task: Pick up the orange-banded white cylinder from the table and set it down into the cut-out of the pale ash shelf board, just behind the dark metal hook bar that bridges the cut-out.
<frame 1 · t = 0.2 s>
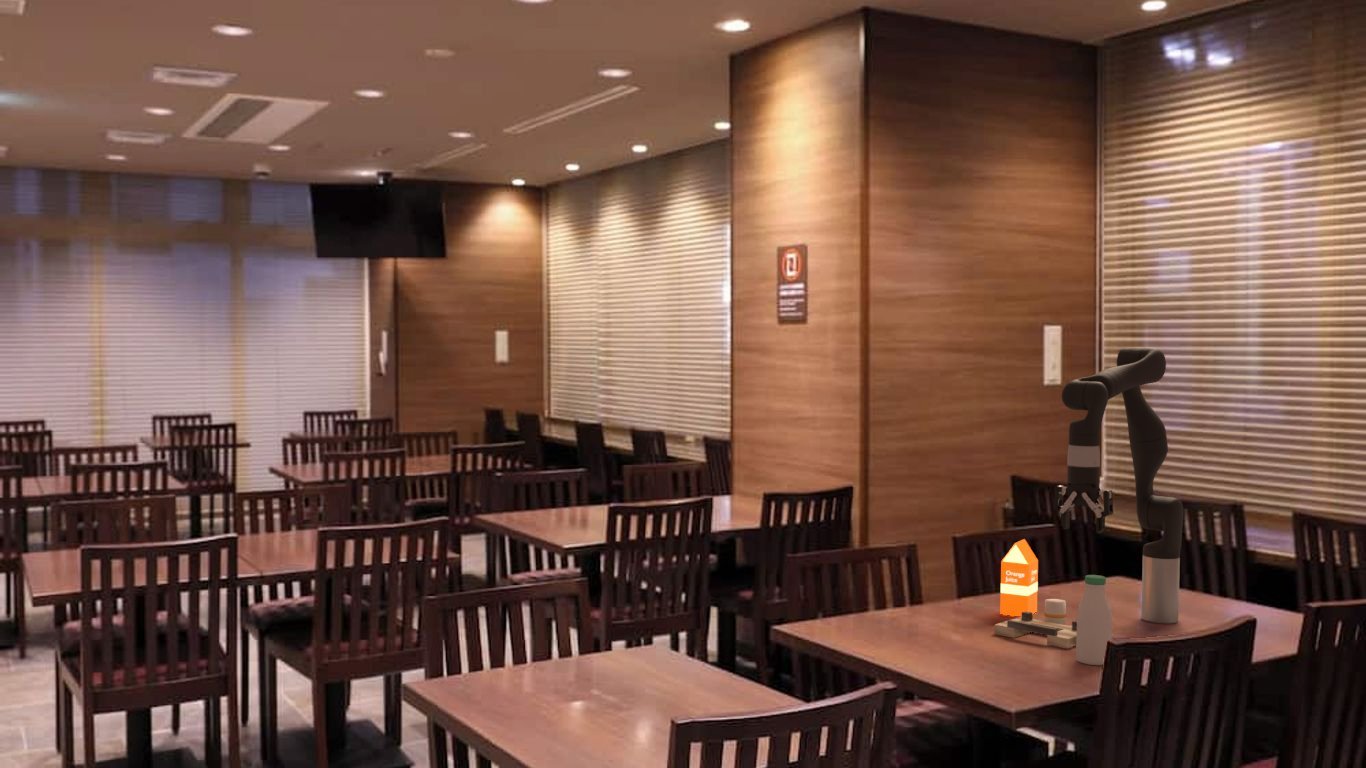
hand: (1082, 530, 293), 29 cm above the table, tool pointing down, fingers open, 8 cm apart
shelf board: (1043, 636, 305), on the table
milk bottle: (1093, 662, 281), on the table
orange-banded white cylinder: (1054, 627, 315), on the table
orange juice: (1018, 614, 331), on the table
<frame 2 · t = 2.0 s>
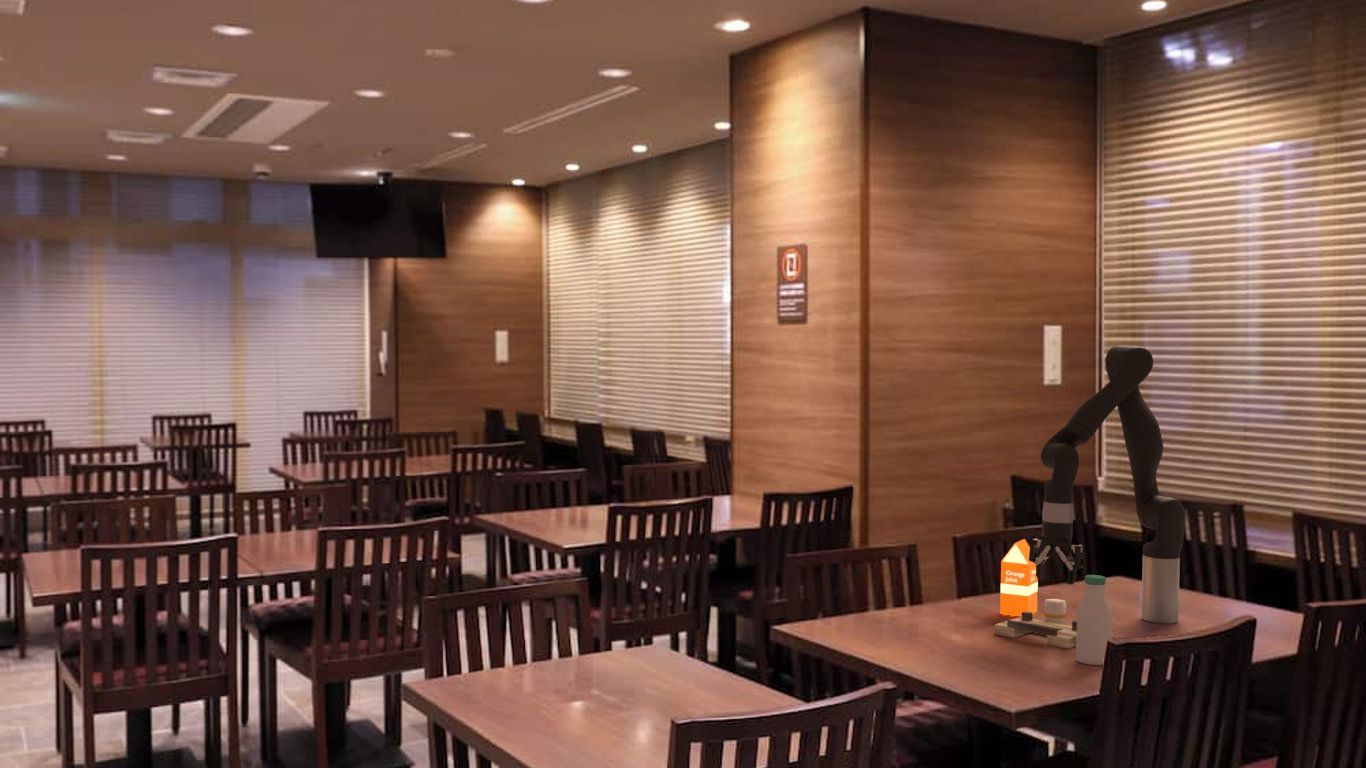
hand: (1055, 581, 314), 12 cm above the table, tool pointing down, fingers open, 8 cm apart
nothing on the table moved.
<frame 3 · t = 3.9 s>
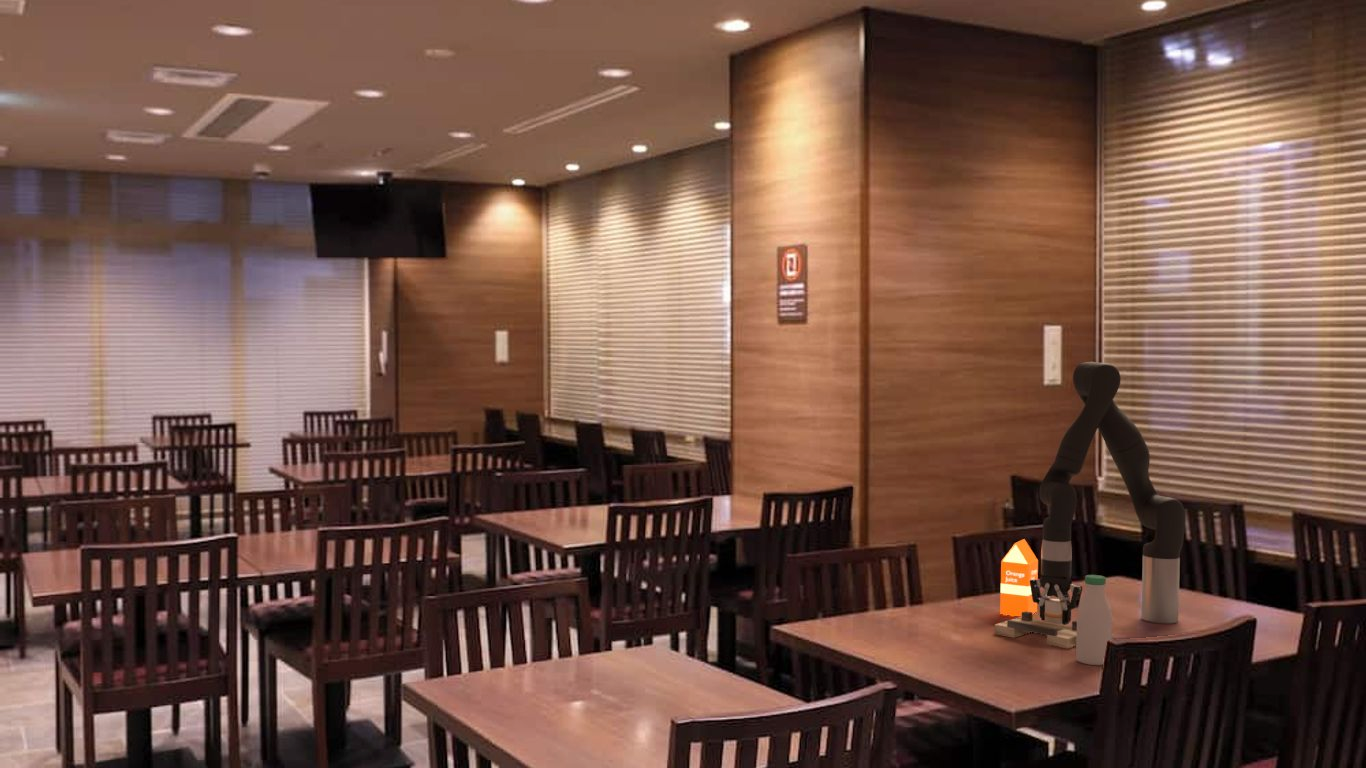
hand: (1054, 621, 315), 1 cm above the table, tool pointing down, fingers closed on orange-banded white cylinder, 5 cm apart
orange-banded white cylinder: (1054, 627, 315), on the table, touching gripper
everything else where it was.
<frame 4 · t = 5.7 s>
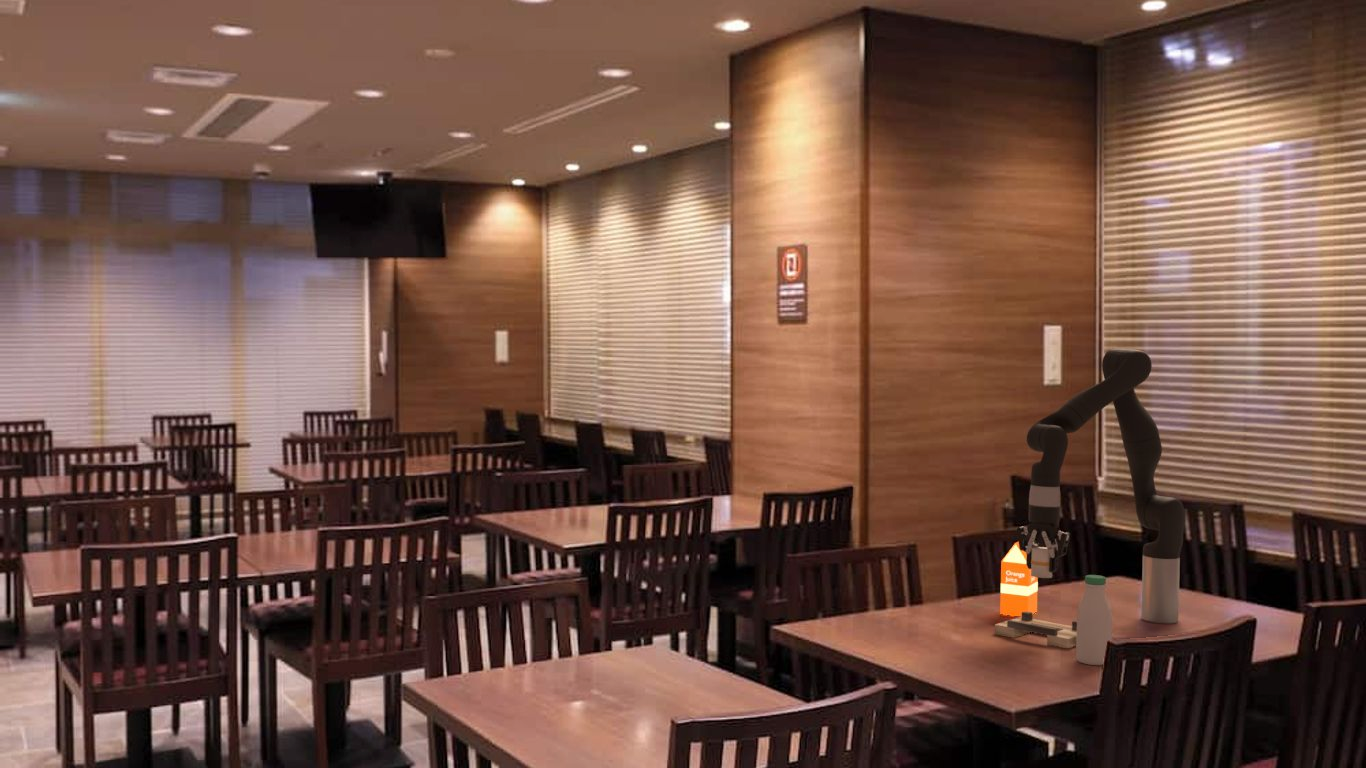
hand: (1041, 570, 306), 17 cm above the table, tool pointing down, fingers closed on orange-banded white cylinder, 5 cm apart
orange-banded white cylinder: (1041, 576, 306), point 15 cm above the table, touching gripper
everything else where it was.
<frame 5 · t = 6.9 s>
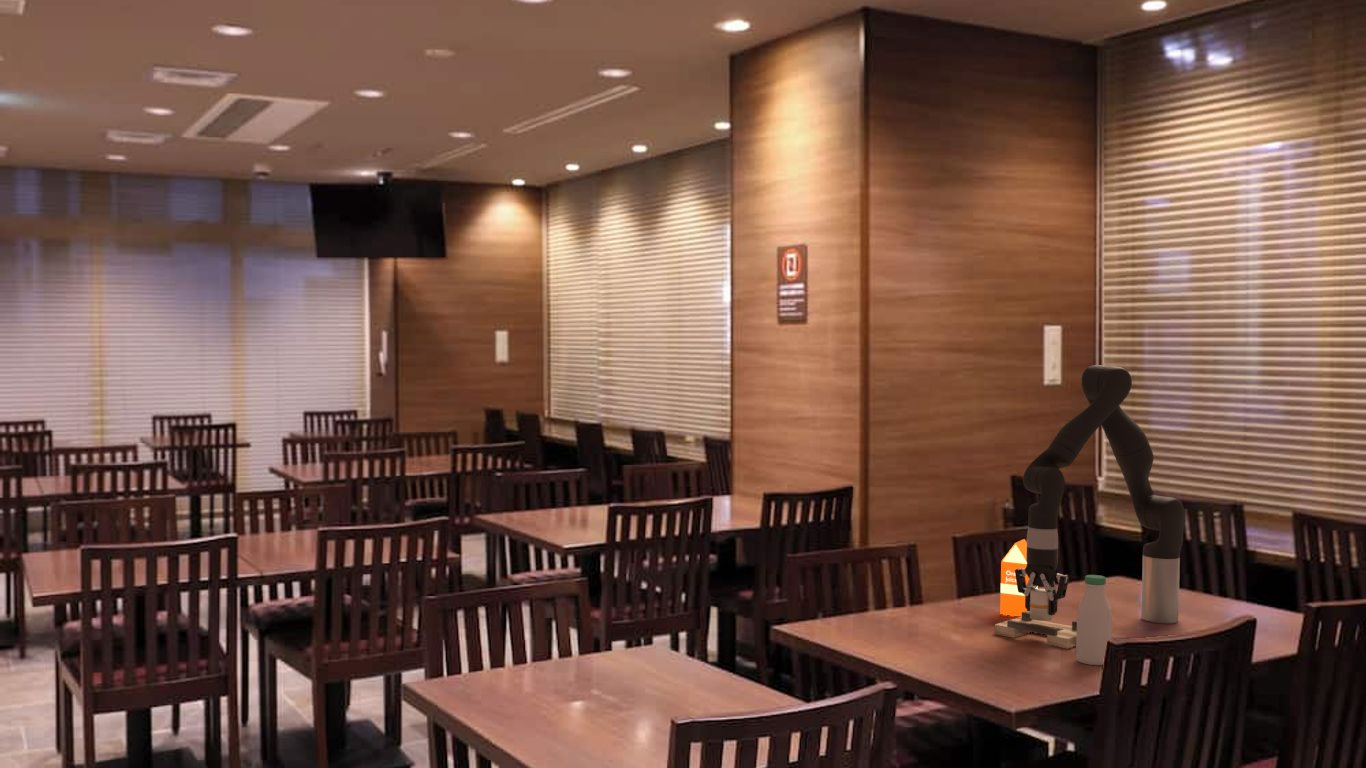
hand: (1040, 612, 303), 6 cm above the table, tool pointing down, fingers closed on orange-banded white cylinder, 5 cm apart
orange-banded white cylinder: (1040, 618, 303), point 5 cm above the table, touching gripper
everything else where it was.
when the fingers open (4 cm above the table, at t = 7.8 s): orange-banded white cylinder drops 2 cm, on the table.
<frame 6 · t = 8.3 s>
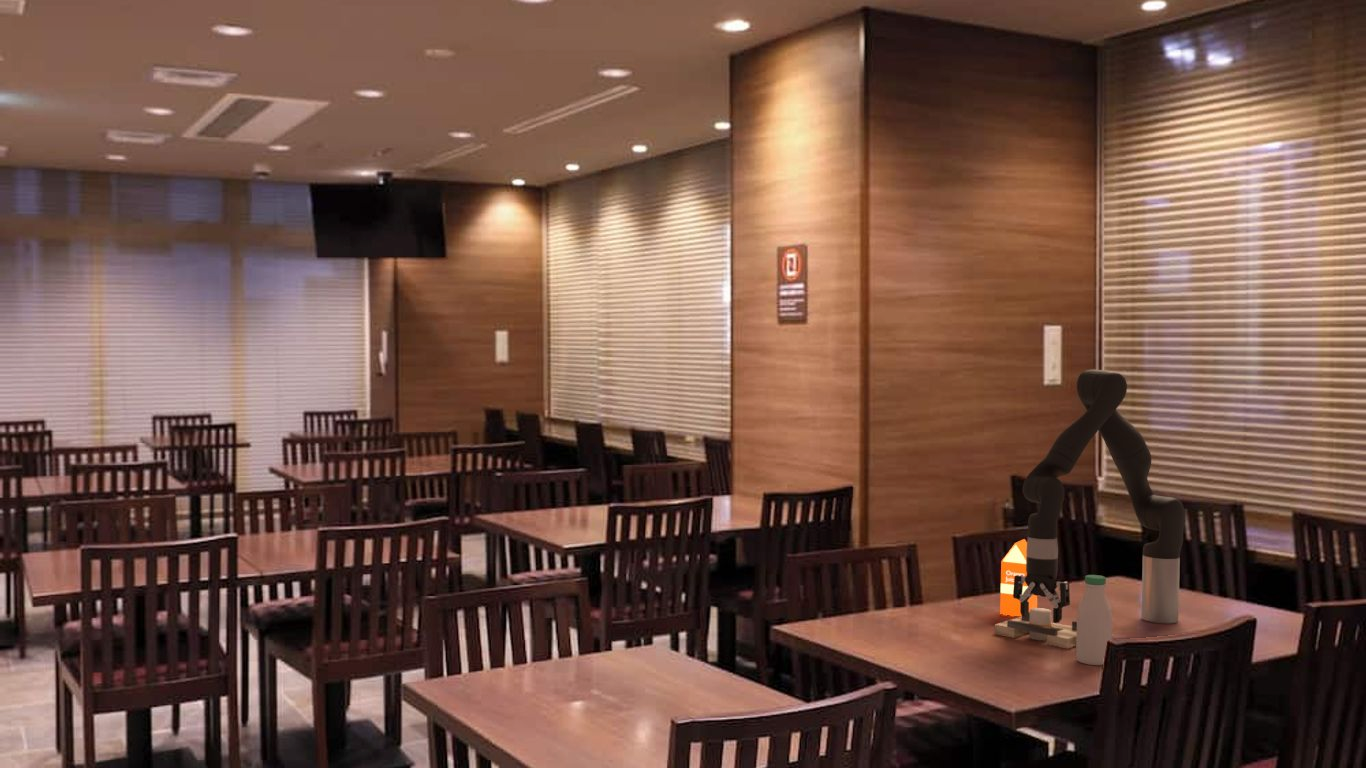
hand: (1040, 619, 304), 5 cm above the table, tool pointing down, fingers open, 8 cm apart
orange-banded white cylinder: (1040, 638, 304), on the table
everything else where it was.
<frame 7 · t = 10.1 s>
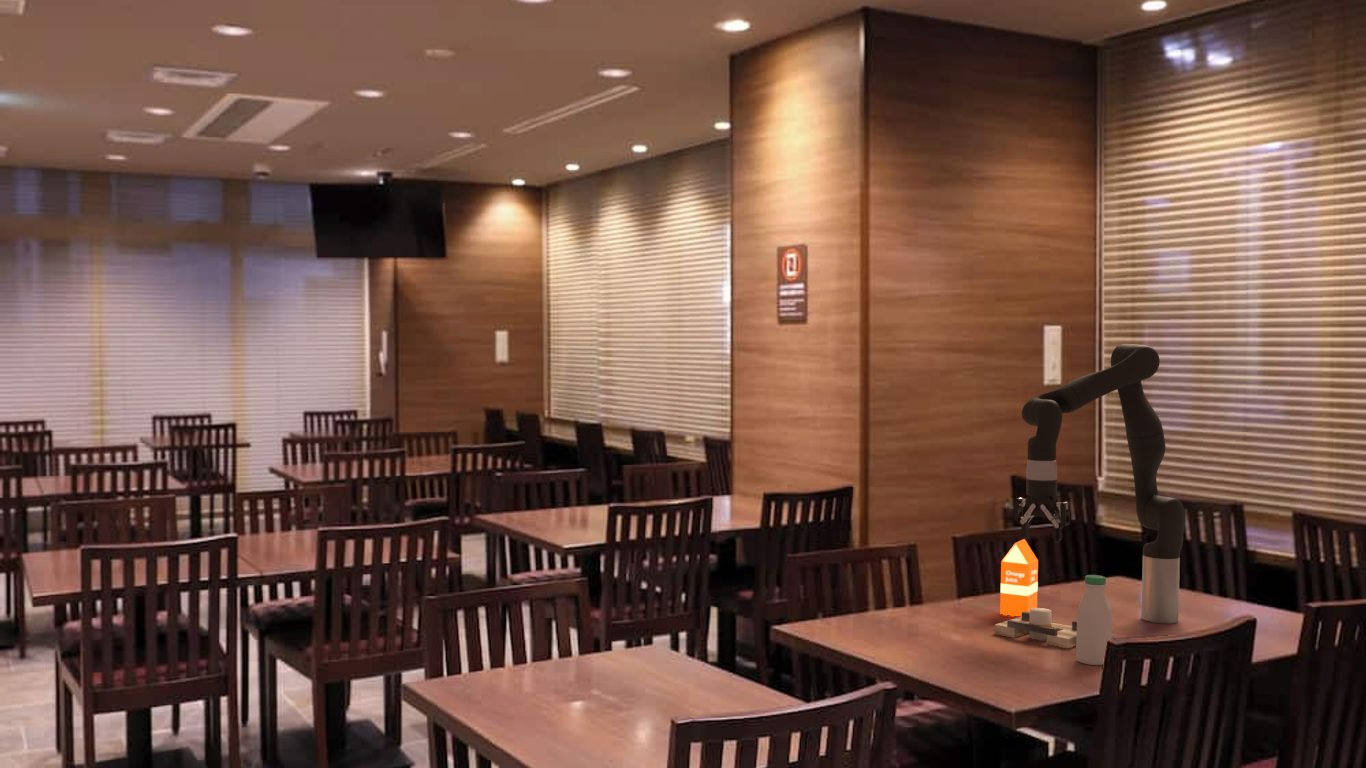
hand: (1041, 540, 310), 23 cm above the table, tool pointing down, fingers open, 8 cm apart
nothing on the table moved.
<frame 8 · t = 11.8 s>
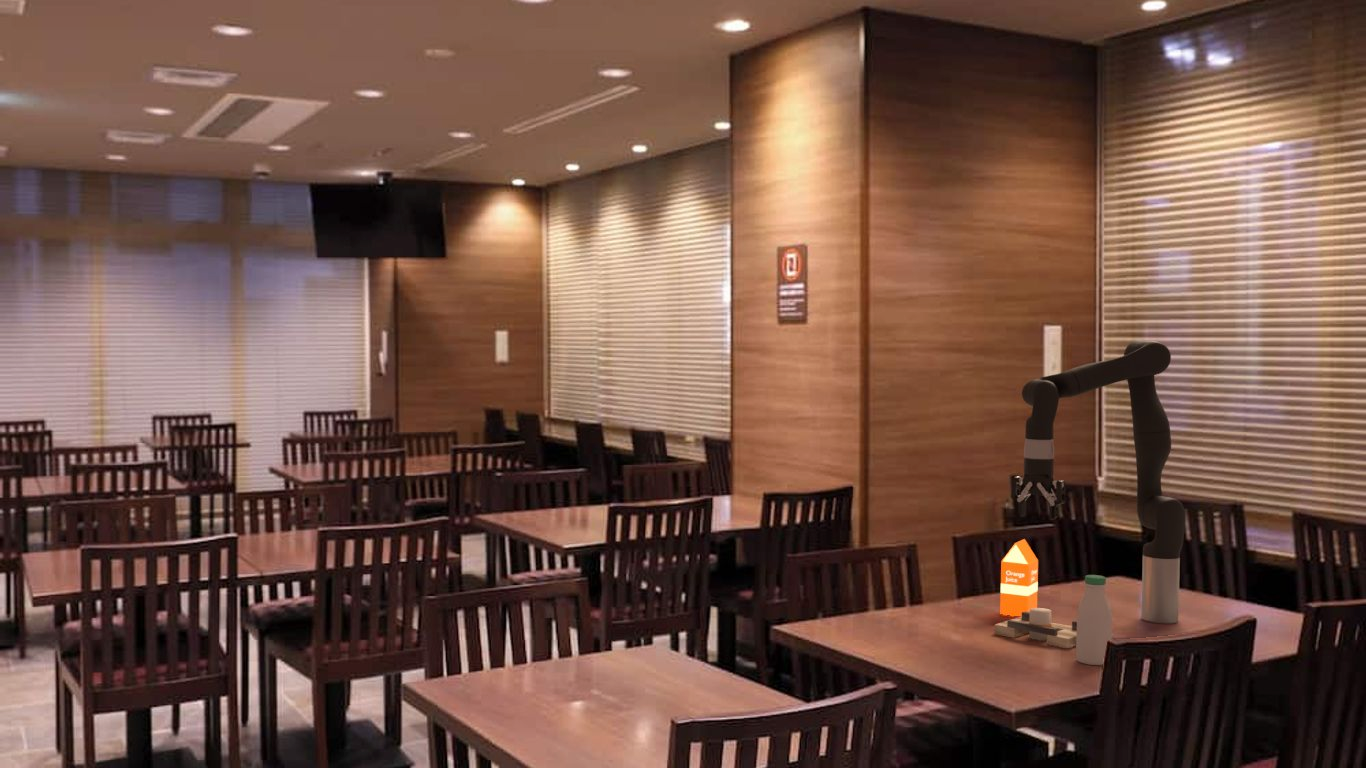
hand: (1037, 518, 317), 28 cm above the table, tool pointing down, fingers open, 8 cm apart
nothing on the table moved.
at the end: orange-banded white cylinder inside the target area on the shelf board (0.4 cm from its centre), point 0.0 cm above the shelf board's base; orange-banded white cylinder tilted 1°; the gripper is holding nothing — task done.
